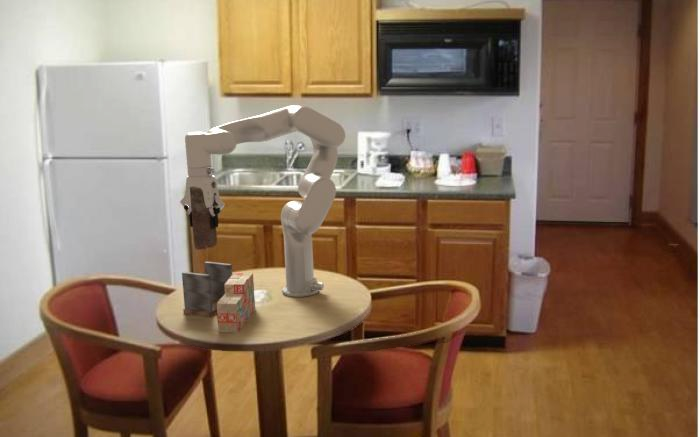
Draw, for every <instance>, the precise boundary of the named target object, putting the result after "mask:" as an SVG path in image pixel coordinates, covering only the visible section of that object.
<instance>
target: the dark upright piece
mask: <svg viewBox="0 0 700 437" xmlns="http://www.w3.org/2000/svg"><path fill="white" fill-rule="evenodd" d="M190 197H191V210H192V223H193V227H192V234H193V236H192V237H193V245H194V248H195V249H196V250H200V251H201V250H206V249H209V248H210V249H211V248H214V247H215V246H217V245H218V235H217V227H216V228H214V229H212V228H211V223H210V216H212V215H211V213H210V211H209V209H208V208H206V205H205V201H204V195H203V190H202V189H196V188H193V187H190Z"/></svg>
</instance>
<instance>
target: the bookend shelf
mask: <svg viewBox="0 0 700 437" xmlns="http://www.w3.org/2000/svg"><path fill="white" fill-rule="evenodd" d="M203 263H204V264H203V265H204V273H198V272H197V273H196V272H192V271H191V272H188V271H182V272H181V279H182V281H181V282H182V290H183V303H184V304H183V305H184V308H182V311H183V315H190V316H197V317H203V318H212V317H213V316H215V315H217V303H218V301H219V300H220V299H221V298H222V297H223V296H224V294H225V286H224V284H225V283H226V282H227V281H228V279H230V277H231V276H232V275H233V264H232V263H223V262H217V261H216V262H215V261H205V262H203Z"/></svg>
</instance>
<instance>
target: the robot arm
mask: <svg viewBox="0 0 700 437" xmlns="http://www.w3.org/2000/svg"><path fill="white" fill-rule="evenodd" d="M294 132H295V133H296V132H297V133H301V134H303V135H305V136H306V137H308V138H309V139H310V141H311V145H312V148H313V149H312V150H313V153H312V156H311V158H310V161H309V164H308V165H307V168H306V169H305V172H304V173H303V175H302V177H301V179H300V181H299V183H298V186H297V191H298V193H299V195H300V196H301V198H303V201H300V200H291V201H288V202H287V203H285V204H284V206H283V207H282V209H281V212H280V224H281V228H282V233H283V244H284V265H285V266H284V267H285V282H286V283H285V284H286V285H284V286H283V287H282V289H281V292H282V294H283V295H284V296H287V297H292V298H293V297H294V298H303V297H309V296H313V295H315V294H317V293H318V292H319V291H323V290H324V288H325V287H324V286H325V285H324V282H318V281H317V277H315V276H314V257H313V256H314V255H313V254H314V252H313V250H314V249H313V235H312V234H314V233H316V232H317V231H319V229H320V228H321V226H322V224H323V223H324V220H326V217H327V215H328V212H330V209H331V207H332V205H333V203H334V201H335V198H336V194H337V188H336V185H335V182H334V181H333V180H332V179H331V178H332V175H333V173H334V170H335V168H336V166H337V163H338V157H339V155H338V153H339V152H338V147H340V146H342V144H343V143H344V141H345V139H346V131H345V129H344V127H343V126H342V125H341V124H340V123H338V122H336V121H334V120H333V119H331V118H330V117H327V116H326V115H324V114H322V113H320V112H318V111H316V110H315V109H312V108H311V107H308V106H305V105H300V104H293V105H287V106H284V107H282V108H279V109H275V110H272V111H270V112H269V111H268V112H266V113H263V114H260V115H255V116H251V117H248V118H243V119H240V120H235V121H231V122H227V123H224V124H222V125H219V126H218V125H217V126H216V127H213V128H210V129H209V130H208V131H207V132H205V131H192V132H188V133H186V135H184V136H185V137H184V142H185V153H186V154H185V156H186V167H187V176H186V179H185V196H184V197H183V198H181V199H180V204H181V205H182V207H183V209H184V210H185V212H186V213H187V215H188V220H189V221H188V222H189V227H191V228H193V223H192V210H191V197H190V187H193V188H196V189H202V190H203V195H204V201H205V205H206V208H208V209H209V211H210V213H211V215H212V216H210V223H211V228H212V229H214V228H216V229H217V228H218V227H219V215H220V213H221V211H222V210H223V209H224V207H225V206H226V203H225V202H224V201H223V199H221V198H220V193H219V187H218V183H217V182H218V181H217V178H216V176H215V175H213V174H214V173H215V172H216V171H215V169H214V168H213V165H212V155H223V156H225V155H230V154H231V153H233V152H234V151H235V150H236V147H237V145H239V144H244V143H261V142H267V141H271V140H273V139H276V138H279V137H282V136H286V135H288V134H291V133H294Z"/></svg>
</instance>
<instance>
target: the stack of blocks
mask: <svg viewBox="0 0 700 437" xmlns="http://www.w3.org/2000/svg"><path fill="white" fill-rule="evenodd" d="M224 286H225V294H224V296H223V297H222V298H221V299H220V300H219V301H218V303H217V314H216V318H217V319H216V320H217V330H218V332H217V333H239V332H240V330H241V329H242V328H243V326H244V324H246V321H247V320H248V319H249V317H250V316H251V315H252V314H251V313H253V312H254V311H255V309H256V299H255V283H254V273H253V272H235V273H232V276H231V277H230V279H228V281H227V282H226V283H225V284H224Z"/></svg>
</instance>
